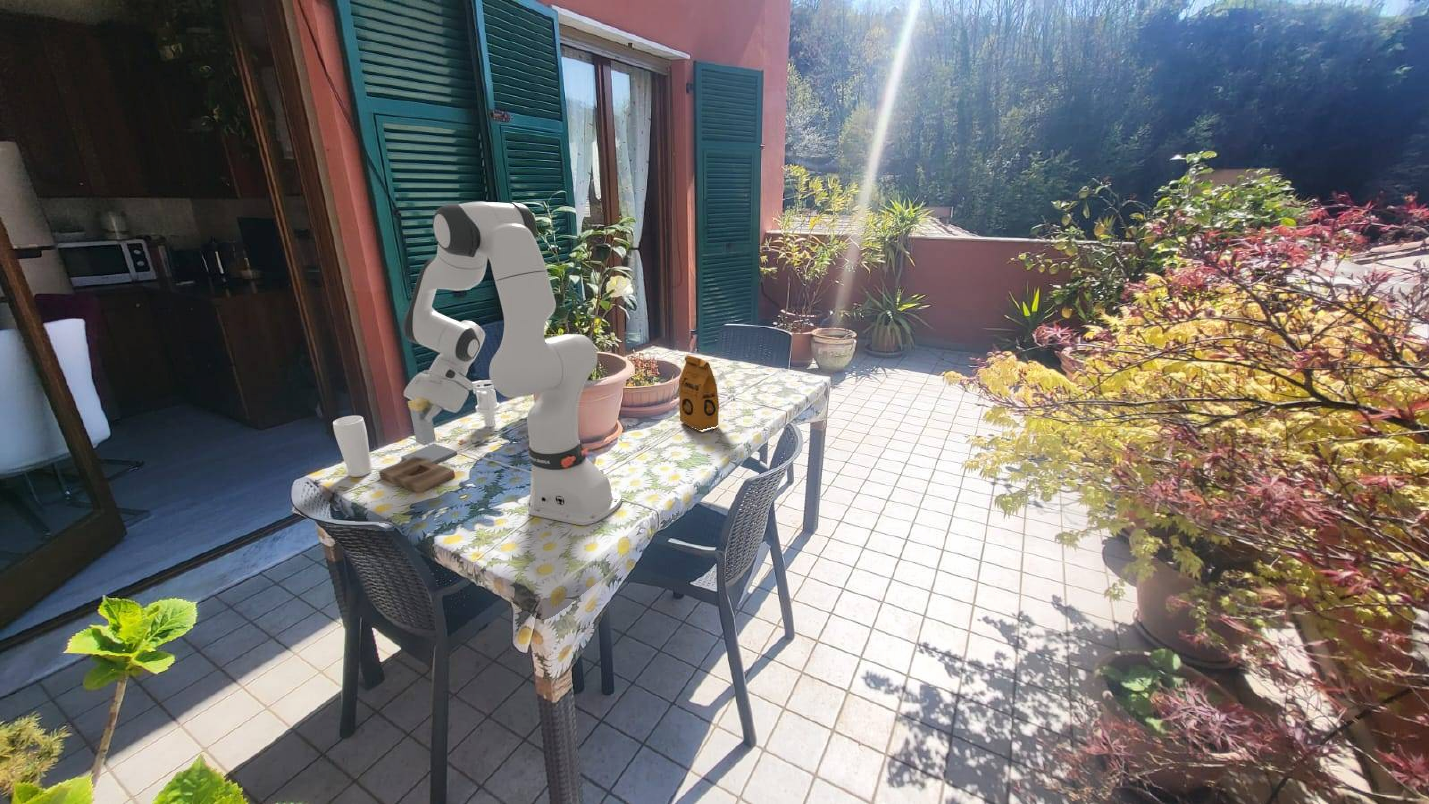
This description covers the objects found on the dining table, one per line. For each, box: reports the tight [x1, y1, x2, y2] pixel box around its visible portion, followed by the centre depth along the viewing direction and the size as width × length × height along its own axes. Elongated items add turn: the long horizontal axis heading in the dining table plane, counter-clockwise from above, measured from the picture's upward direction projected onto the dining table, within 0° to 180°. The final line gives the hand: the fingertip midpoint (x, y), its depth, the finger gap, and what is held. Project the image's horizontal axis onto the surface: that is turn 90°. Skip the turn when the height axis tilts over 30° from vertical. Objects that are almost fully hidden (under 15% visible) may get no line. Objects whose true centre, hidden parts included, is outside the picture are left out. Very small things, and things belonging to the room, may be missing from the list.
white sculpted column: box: [471, 379, 501, 428], centre depth 176 cm, size 7×7×15 cm
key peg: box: [407, 397, 437, 446], centre depth 153 cm, size 4×4×12 cm
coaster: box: [400, 443, 458, 464], centre depth 157 cm, size 10×10×1 cm
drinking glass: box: [332, 415, 373, 478], centre depth 146 cm, size 7×7×15 cm
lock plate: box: [378, 456, 456, 494], centre depth 146 cm, size 16×10×2 cm, turn 60°
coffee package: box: [678, 354, 720, 431], centre depth 175 cm, size 10×12×22 cm
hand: (419, 419), depth 153 cm, fingers closed on key peg, 3 cm apart
